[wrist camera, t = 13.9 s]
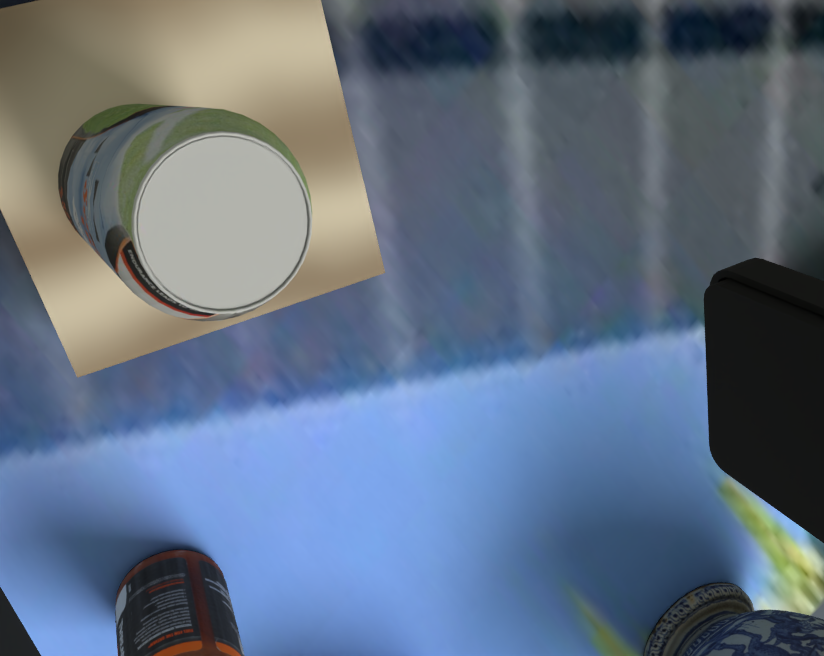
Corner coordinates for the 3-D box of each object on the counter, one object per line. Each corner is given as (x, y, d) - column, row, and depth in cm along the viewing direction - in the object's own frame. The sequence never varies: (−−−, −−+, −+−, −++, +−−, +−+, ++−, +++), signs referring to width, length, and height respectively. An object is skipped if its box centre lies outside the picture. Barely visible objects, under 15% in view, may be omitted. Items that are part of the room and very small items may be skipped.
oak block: (-59, 25, 30) (-83, 26, 26) (278, -49, 34) (306, -59, 30) (78, 335, 37) (77, 377, 32) (352, 245, 40) (385, 272, 36)
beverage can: (21, 171, 29) (-9, 255, 18) (172, 44, 29) (224, 56, 19) (144, 287, 32) (178, 414, 22) (278, 171, 32) (373, 241, 22)
